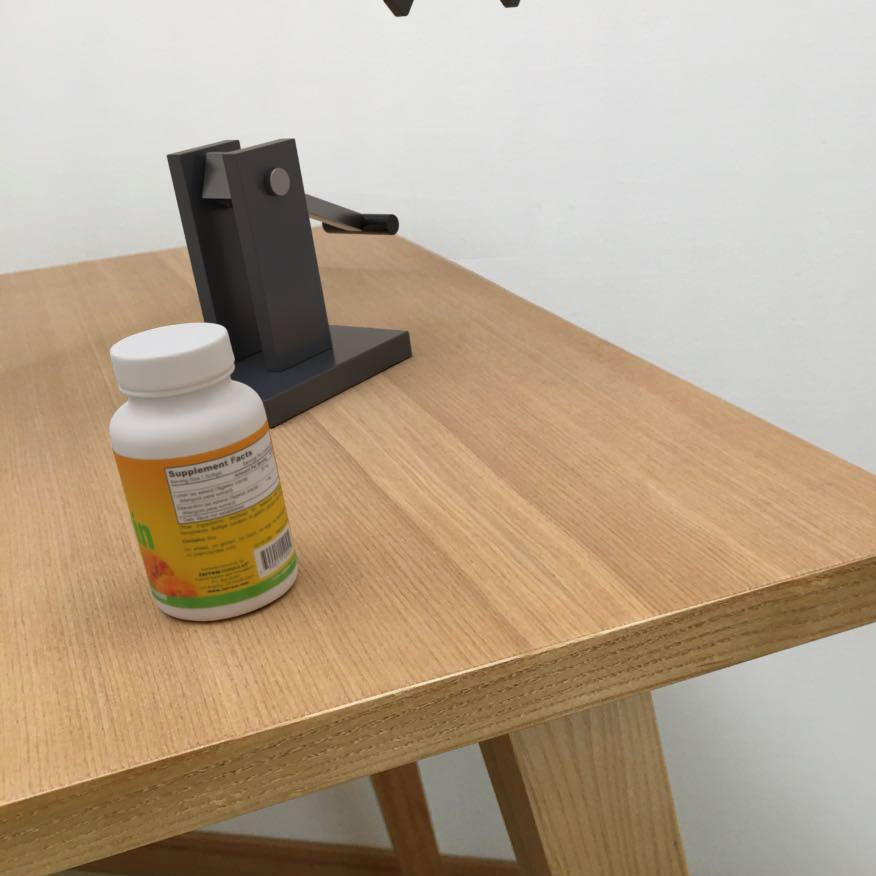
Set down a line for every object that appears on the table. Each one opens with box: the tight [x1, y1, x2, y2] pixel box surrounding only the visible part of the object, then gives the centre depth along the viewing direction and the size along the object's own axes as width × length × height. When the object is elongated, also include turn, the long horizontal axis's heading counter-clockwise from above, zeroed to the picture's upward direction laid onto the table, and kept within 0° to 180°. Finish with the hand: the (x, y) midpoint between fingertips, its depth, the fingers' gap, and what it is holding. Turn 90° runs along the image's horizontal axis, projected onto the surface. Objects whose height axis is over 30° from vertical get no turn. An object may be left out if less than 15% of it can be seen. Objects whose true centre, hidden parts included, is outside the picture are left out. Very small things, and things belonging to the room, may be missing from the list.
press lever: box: [202, 152, 400, 236], centre depth 68 cm, size 12×5×2 cm, turn 149°
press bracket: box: [166, 137, 413, 428], centre depth 66 cm, size 12×10×13 cm
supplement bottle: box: [108, 322, 299, 622], centre depth 44 cm, size 5×5×10 cm
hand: (447, 3), depth 77 cm, fingers open, 8 cm apart
